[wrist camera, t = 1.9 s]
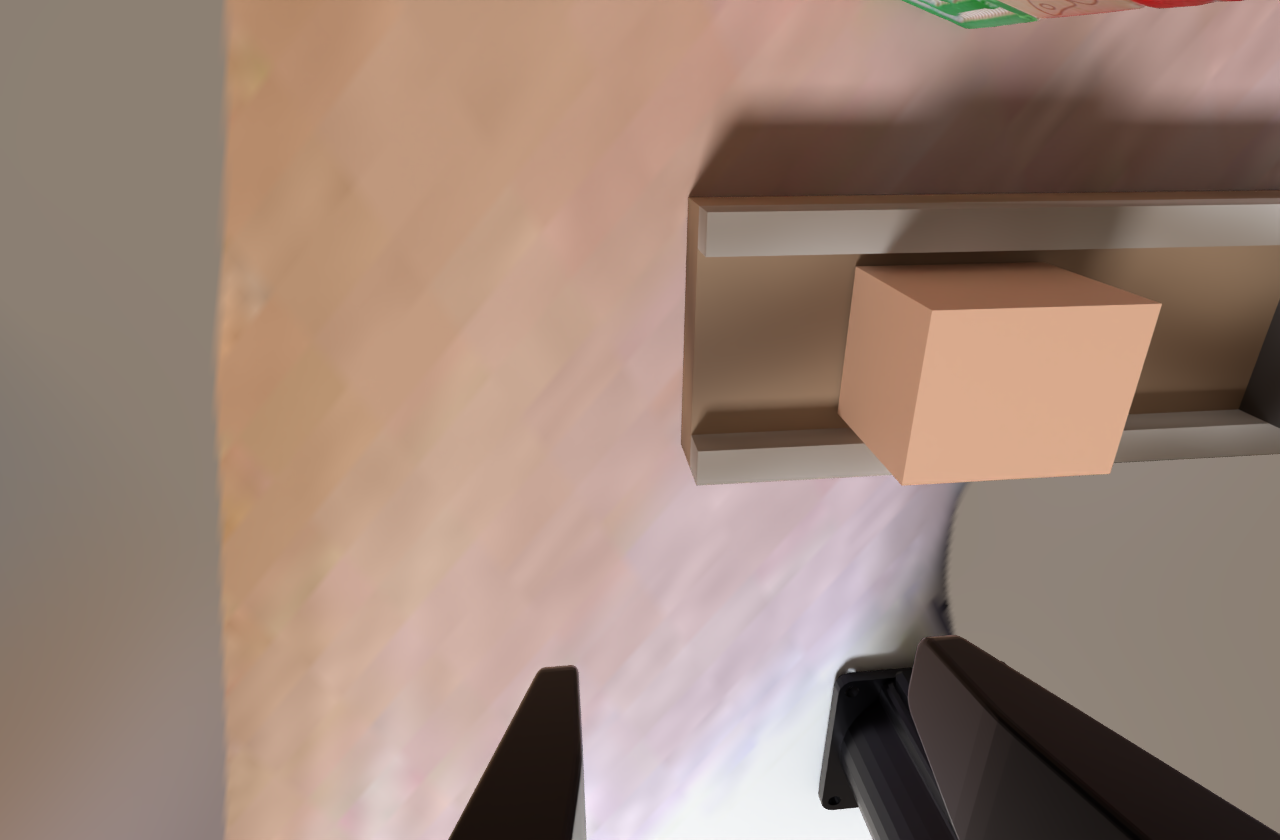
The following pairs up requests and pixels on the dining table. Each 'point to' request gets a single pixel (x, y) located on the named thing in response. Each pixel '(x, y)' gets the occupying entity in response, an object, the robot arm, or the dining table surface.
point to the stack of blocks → (1033, 9)
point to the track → (971, 234)
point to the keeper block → (991, 370)
